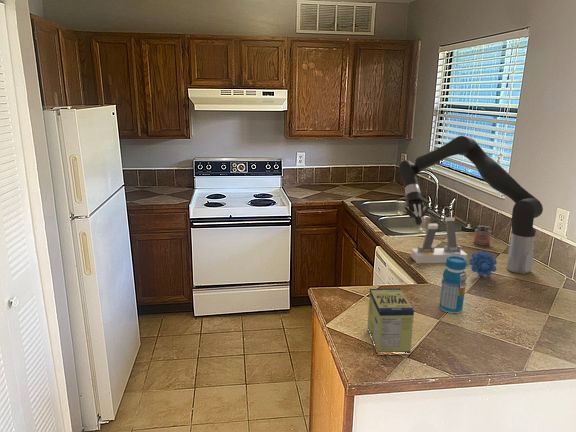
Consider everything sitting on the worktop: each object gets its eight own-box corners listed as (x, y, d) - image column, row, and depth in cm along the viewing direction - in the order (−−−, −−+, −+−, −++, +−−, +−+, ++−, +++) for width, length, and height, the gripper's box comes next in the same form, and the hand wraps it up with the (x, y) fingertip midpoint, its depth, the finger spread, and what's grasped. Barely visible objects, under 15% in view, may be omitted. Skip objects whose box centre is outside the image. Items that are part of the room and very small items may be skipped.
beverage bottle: (441, 313, 157) (447, 262, 151) (436, 302, 165) (442, 254, 160) (465, 315, 156) (472, 264, 150) (459, 304, 164) (465, 255, 158)
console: (458, 255, 213) (459, 242, 211) (466, 262, 204) (468, 249, 203) (410, 256, 212) (411, 243, 210) (416, 263, 203) (418, 250, 201)
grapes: (469, 279, 186) (473, 253, 183) (466, 273, 192) (469, 247, 189) (498, 281, 184) (502, 255, 181) (493, 274, 191) (497, 249, 187)
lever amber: (429, 249, 208) (437, 223, 198) (430, 252, 206) (438, 225, 196) (420, 250, 207) (428, 223, 197) (421, 252, 206) (429, 226, 196)
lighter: (473, 243, 230) (475, 225, 227) (473, 241, 233) (476, 224, 230) (489, 245, 226) (492, 227, 224) (489, 244, 229) (492, 226, 226)
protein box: (396, 329, 147) (400, 287, 143) (410, 355, 132) (415, 310, 128) (366, 329, 147) (369, 287, 142) (377, 356, 132) (380, 310, 127)
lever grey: (456, 251, 208) (453, 217, 210) (457, 251, 206) (455, 217, 209) (447, 251, 208) (444, 217, 210) (448, 251, 206) (446, 217, 208)
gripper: (402, 190, 219) (408, 221, 211) (428, 190, 220) (434, 220, 211) (398, 198, 225) (404, 227, 217) (423, 198, 226) (429, 227, 218)
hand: (419, 224), depth 214 cm, fingers closed
